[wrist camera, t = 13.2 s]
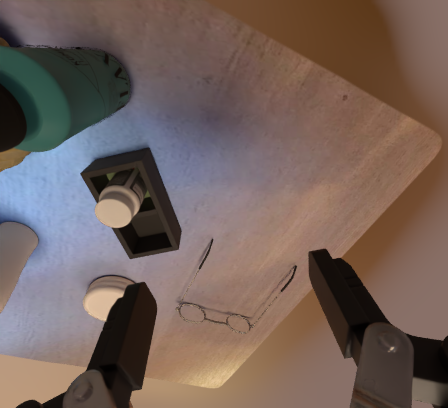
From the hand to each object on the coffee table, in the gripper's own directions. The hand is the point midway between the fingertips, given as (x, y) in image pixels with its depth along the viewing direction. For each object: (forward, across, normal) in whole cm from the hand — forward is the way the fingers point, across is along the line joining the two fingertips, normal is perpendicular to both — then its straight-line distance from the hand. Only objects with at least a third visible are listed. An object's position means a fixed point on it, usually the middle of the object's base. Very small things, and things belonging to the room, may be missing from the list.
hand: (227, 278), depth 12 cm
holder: (+24, +13, +7) cm, 28 cm away
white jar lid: (+24, +26, +26) cm, 44 cm away
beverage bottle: (+24, +11, -9) cm, 28 cm away
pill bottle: (+24, +13, +4) cm, 27 cm away
